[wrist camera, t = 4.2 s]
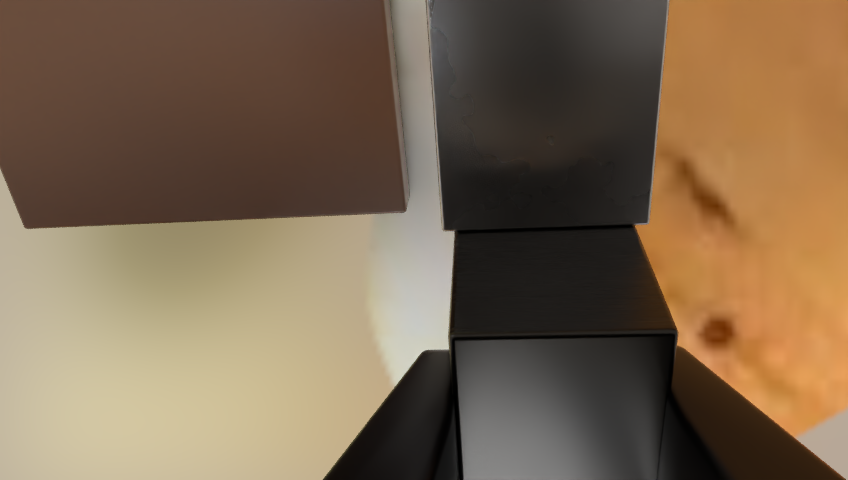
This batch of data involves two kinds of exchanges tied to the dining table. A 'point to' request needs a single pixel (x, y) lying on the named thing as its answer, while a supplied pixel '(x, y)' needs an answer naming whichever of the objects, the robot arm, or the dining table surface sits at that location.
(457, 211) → the knife
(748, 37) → the dining table surface
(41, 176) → the board
